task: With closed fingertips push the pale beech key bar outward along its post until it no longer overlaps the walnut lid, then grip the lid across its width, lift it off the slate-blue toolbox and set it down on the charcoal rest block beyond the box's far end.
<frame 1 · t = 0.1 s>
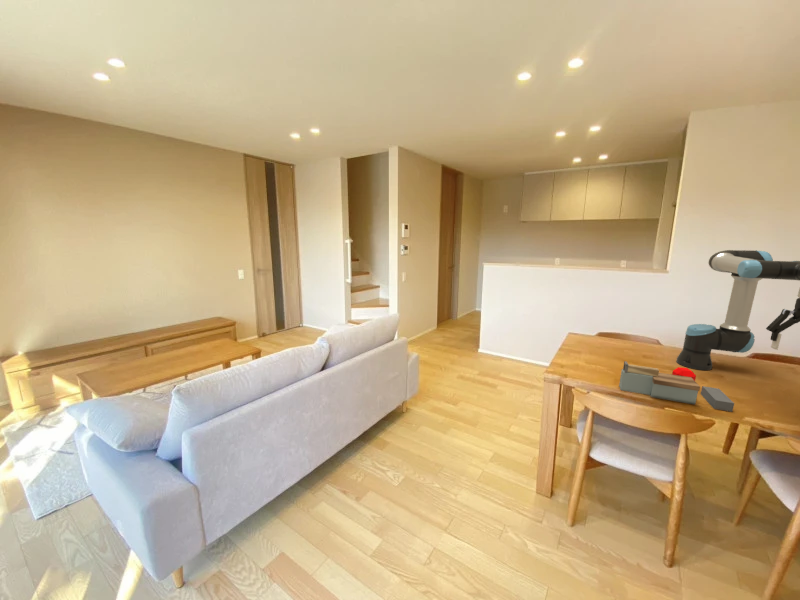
hand: (797, 351, 131), 28 cm above the table, fingers open, 13 cm apart
ball: (682, 383, 164), on the table
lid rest: (715, 402, 146), on the table
toolbox: (669, 396, 151), on the table
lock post: (633, 390, 156), on the table
lid: (672, 382, 149), point 7 cm above the table, touching toolbox
key bar: (641, 370, 153), point 11 cm above the table, slide at 0.0 cm
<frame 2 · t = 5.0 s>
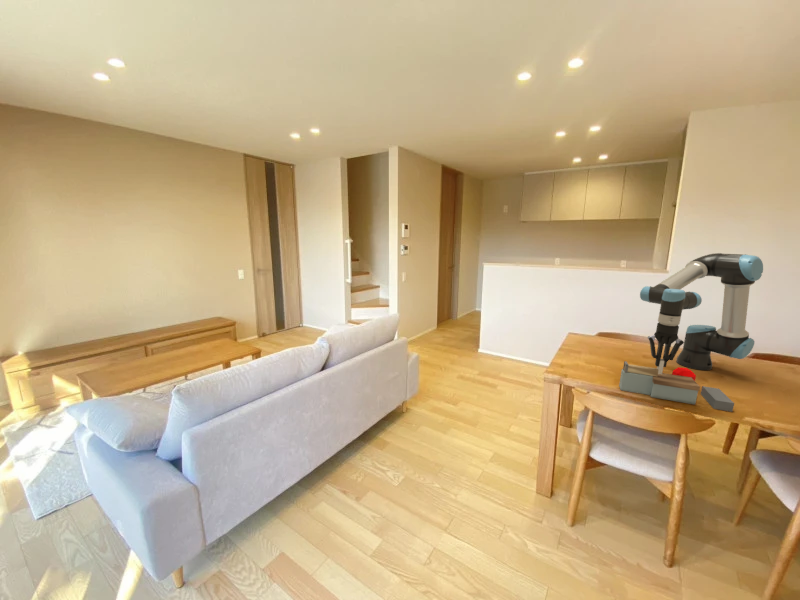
hand: (659, 372, 151), 11 cm above the table, fingers closed
key bar: (640, 370, 153), point 11 cm above the table, slide at 0.3 cm, touching gripper
everything else where it was.
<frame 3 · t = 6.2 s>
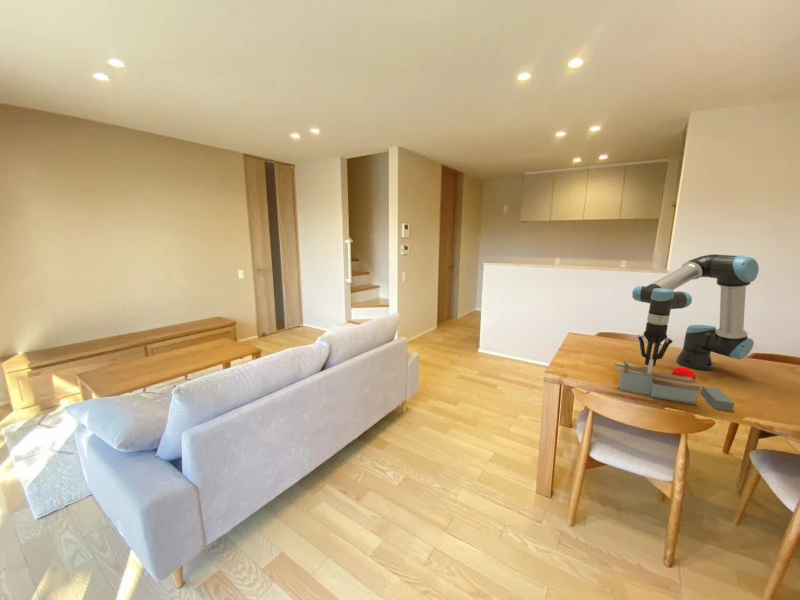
hand: (648, 371, 152), 11 cm above the table, fingers closed
key bar: (630, 368, 155), point 11 cm above the table, slide at 4.2 cm, touching gripper
everything else where it was.
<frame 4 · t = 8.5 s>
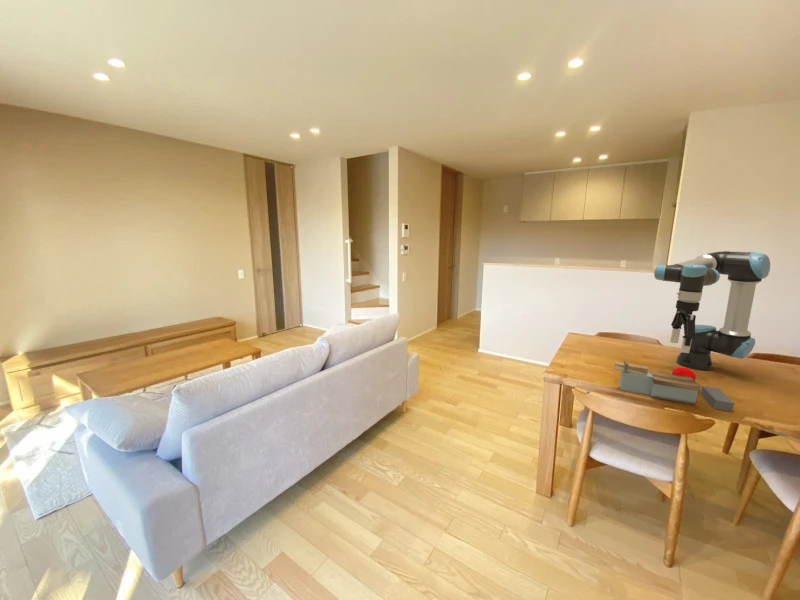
hand: (679, 347, 146), 24 cm above the table, fingers open, 13 cm apart
key bar: (630, 368, 155), point 11 cm above the table, slide at 4.2 cm
everything else where it was.
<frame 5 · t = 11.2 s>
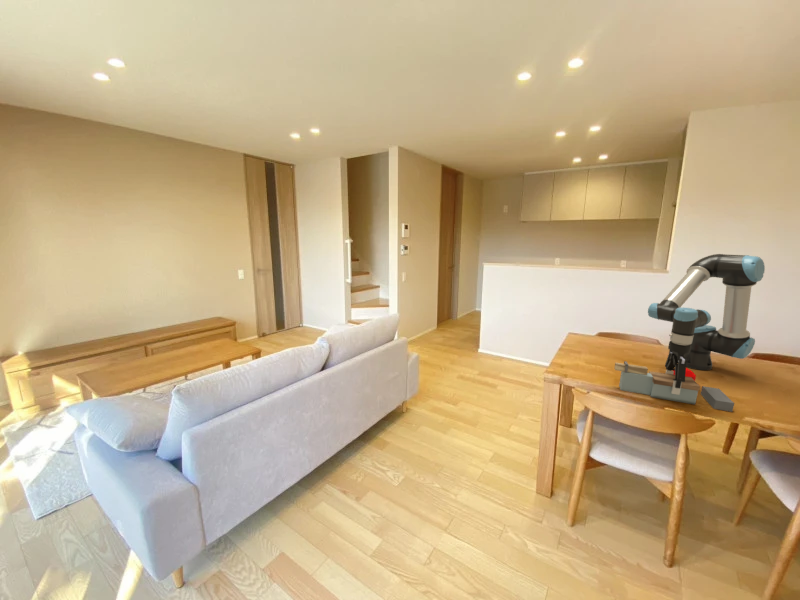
hand: (671, 388, 150), 4 cm above the table, fingers closed on lid, 10 cm apart
lid: (672, 382, 149), point 7 cm above the table, touching gripper, toolbox
everything else where it was.
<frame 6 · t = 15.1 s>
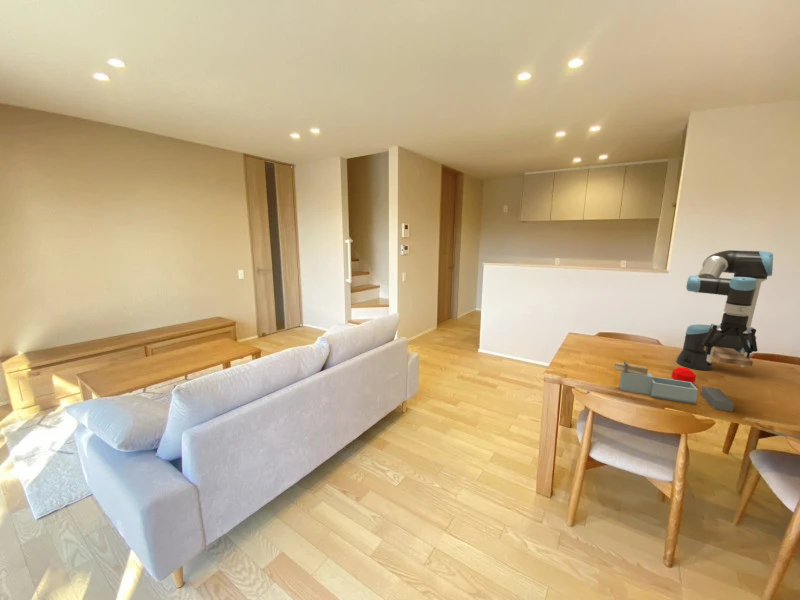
hand: (724, 363, 142), 19 cm above the table, fingers closed on lid, 10 cm apart
lid: (726, 357, 141), point 22 cm above the table, touching gripper
everything else where it was.
when the fingers open (2 cm above the table, at t = 18.9 s): lid stays where it is, resting on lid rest.
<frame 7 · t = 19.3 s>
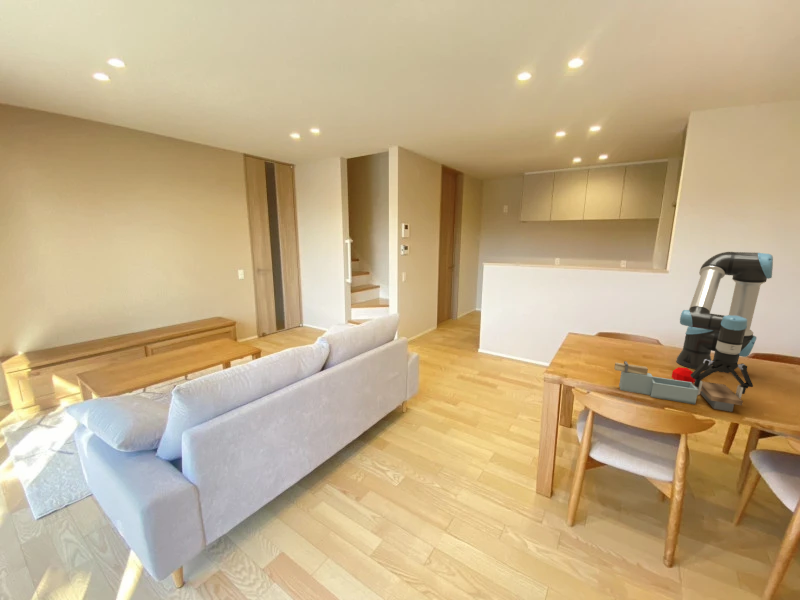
hand: (716, 396, 145), 3 cm above the table, fingers open, 13 cm apart
lid: (717, 394, 145), point 4 cm above the table, touching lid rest
everything else where it was.
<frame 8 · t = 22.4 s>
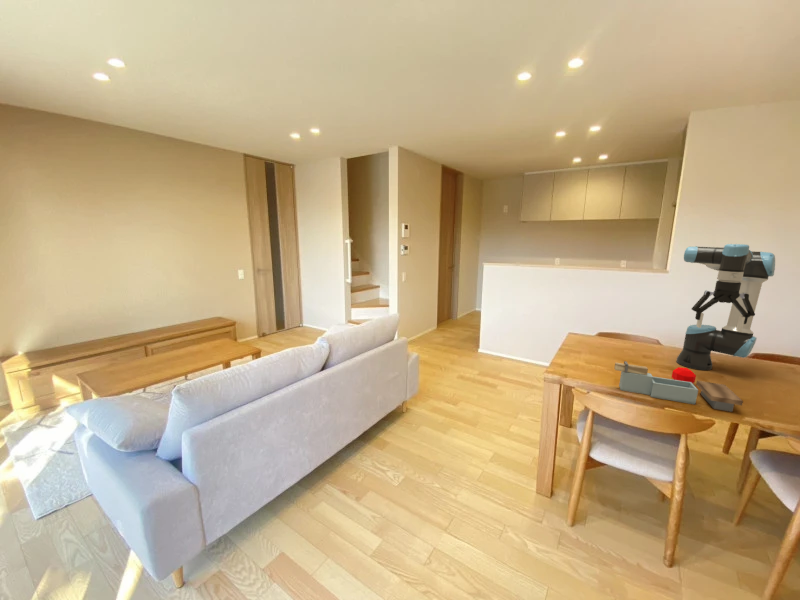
hand: (718, 328, 143), 33 cm above the table, fingers open, 13 cm apart
nothing on the table moved.
at the end: key bar slide at 4.2 cm; lid inside the target area (0.0 cm from its centre), point 4.0 cm above the table; lid touching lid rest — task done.
